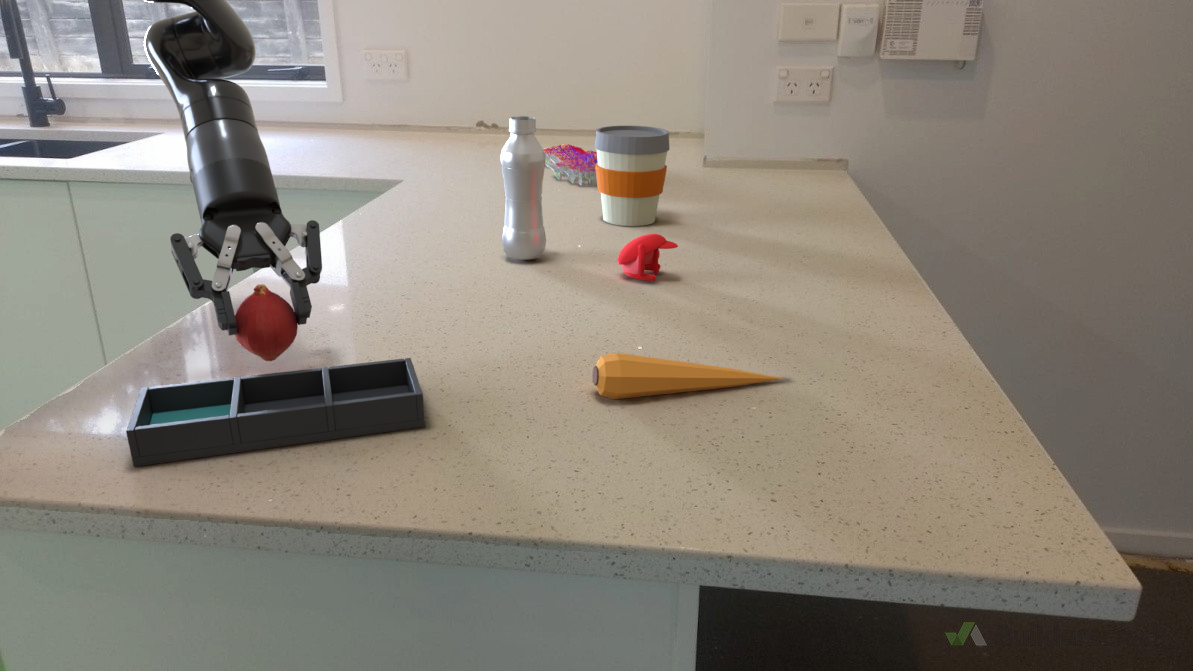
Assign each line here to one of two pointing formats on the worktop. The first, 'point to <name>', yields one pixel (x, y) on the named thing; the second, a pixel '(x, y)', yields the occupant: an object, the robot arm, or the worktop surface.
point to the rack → (273, 410)
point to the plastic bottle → (523, 191)
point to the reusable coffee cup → (631, 172)
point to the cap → (643, 256)
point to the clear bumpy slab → (572, 163)
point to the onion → (265, 324)
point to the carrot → (663, 376)
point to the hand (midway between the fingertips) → (268, 325)
